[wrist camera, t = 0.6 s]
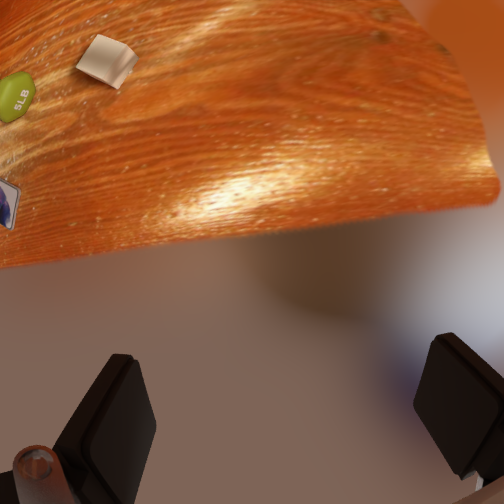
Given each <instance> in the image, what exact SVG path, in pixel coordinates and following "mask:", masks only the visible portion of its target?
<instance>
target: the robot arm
mask: <svg viewBox="0 0 504 504" xmlns="http://www.w3.org/2000/svg"><path fill="white" fill-rule="evenodd" d="M413 406H414V409H415V411H416V413H417V414H418V416H419V417H420V419H421V421H422V422H423V424H424V425H425V427H426V428H427V430H428V432H429V433H430V435H431V436H432V438H433V440H434V441H435V443H436V445H437V446H438V448H439V449H440V451H441V453H442V454H443V456H444V458H445V459H446V461H447V462H448V464H449V466H450V467H451V469H452V471H453V472H454V473H455V474H457V475H459V477H460V479H461V480H464V479H466V478H468V477H470V476H472V475H474V473H475V472H476V471H477V472H478V474H479V476H478V481H477V485H476V490H475V492H474V493H473V494H471V495H469V496H467V497H465V498H463V499H461V500H459V501H457V502H455V503H453V504H504V378H502V376H501V375H500V374H498V373H497V372H496V371H495V370H494V369H493V368H492V367H491V366H490V365H489V364H487V362H486V361H484V360H483V359H482V358H481V357H480V356H479V355H478V354H477V353H476V352H474V351H473V350H472V349H471V348H470V347H469V346H468V345H467V344H465V343H464V342H463V341H462V340H461V339H460V338H459V337H457V336H456V335H455V334H454V333H452V332H450V333H444V334H440V335H437V336H436V337H435V339H434V340H433V341H432V342H431V345H430V349H429V352H428V356H427V360H426V363H425V367H424V370H423V373H422V377H421V380H420V383H419V386H418V389H417V393H416V395H415V398H414V402H413ZM155 432H156V420H155V417H154V414H153V410H152V407H151V404H150V401H149V397H148V394H147V391H146V387H145V384H144V380H143V377H142V372H141V368H140V365H139V362H138V360H134V359H133V357H132V356H131V355H127V354H113V355H112V356H111V357H110V359H109V360H108V362H107V363H106V365H105V366H104V368H103V369H102V371H101V372H100V373H99V375H98V377H97V378H96V379H95V381H94V383H93V384H92V386H91V387H90V389H89V390H88V392H87V393H86V395H85V396H84V398H83V399H82V401H81V402H80V404H79V406H78V407H77V409H76V410H75V412H74V414H73V415H72V417H71V418H70V420H69V421H68V423H67V425H66V426H65V428H64V430H63V431H62V433H61V435H60V436H59V438H58V439H57V441H56V443H55V445H54V447H53V448H52V450H51V449H50V448H48V447H46V446H41V445H33V446H29V447H26V448H24V449H23V450H21V451H20V452H19V453H18V454H17V455H16V457H15V458H14V461H13V470H11V471H8V472H4V473H0V504H134V502H135V498H136V495H137V491H138V487H139V484H140V481H141V477H142V474H143V471H144V467H145V464H146V461H147V458H148V454H149V451H150V448H151V445H152V441H153V438H154V435H155Z"/></svg>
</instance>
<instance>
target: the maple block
mask: <svg viewBox="0 0 504 504" xmlns="http://www.w3.org/2000/svg"><path fill="white" fill-rule="evenodd" d="M138 59H139V57H138V56H137V55H136V54H135V53H134V52H133V51H132V50H131V49H130V48H129V47H128V46H127V45H126V44H124V43H121V42H118V41H116V40H113V39H110V38H108V37H105V36H102V35H99V34H98V35H97V37H96V38H95V39H94V41H93V42H92V44H91V45H90V46H89V48H88V49H87V51H86V52H85V54H84V55H83V57H82V58H81V60H80V61H79V63H78V64H77V66H76V68H78V69H79V70H81V71H83V72H84V73H86V74H88V75H90V76H91V77H93V78H95V79H97V80H99V81H101V82H104V83H106V84H108V85H110V86H112V87H114V88H116V89H119V87H120V86H121V84H122V83H123V81H124V80H125V78H126V77H127V75H128V74H129V72H130V71H131V69H132V68H133V67H134V65H135V64H136V62H137V61H138Z"/></svg>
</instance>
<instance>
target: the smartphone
mask: <svg viewBox="0 0 504 504" xmlns="http://www.w3.org/2000/svg"><path fill="white" fill-rule="evenodd" d="M20 195H21V190H20V189H19V188H18V187H16V186H14V185H12V184H11V183H9V182H7V181H5V180H3V179H2V178H0V224H1V225H3V226H4V227H6V228H7V229H9V230H13V229H14V224H15V219H16V214H17V213H16V210H17V209H18V204H19V199H20Z"/></svg>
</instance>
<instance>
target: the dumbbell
mask: <svg viewBox="0 0 504 504" xmlns="http://www.w3.org/2000/svg"><path fill="white" fill-rule="evenodd" d="M35 91H36V88H35V84H34V82H33V79H32V77H31V75H30V74H29V73H27V72H23V71H21V72H17V73H14V74H11V75H9V76H7V77H5V78H4V79H2V80H1V79H0V120H1V121H3V122H5V123H8V122H11V121H13V120H15V119H17V118H19V117H21V116H22V115H24V114H25V113H26V111H27V110H28V108H29V106H30V103H31V101H32V99H33V97H34V95H35Z"/></svg>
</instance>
